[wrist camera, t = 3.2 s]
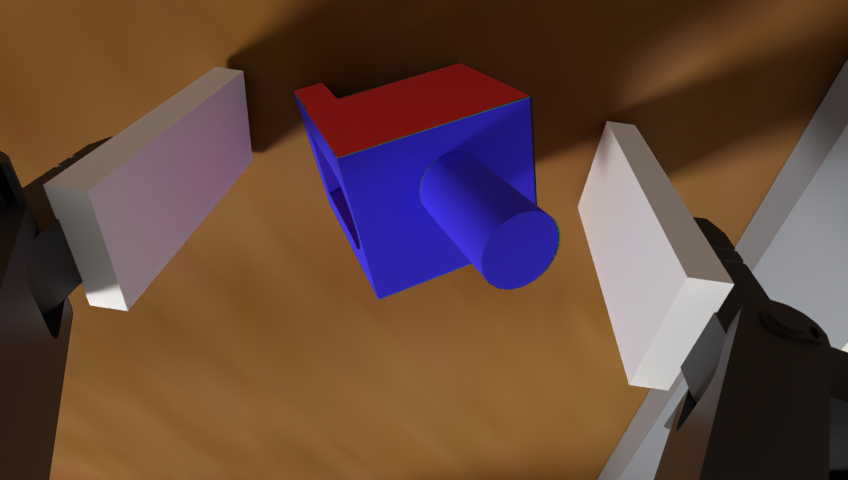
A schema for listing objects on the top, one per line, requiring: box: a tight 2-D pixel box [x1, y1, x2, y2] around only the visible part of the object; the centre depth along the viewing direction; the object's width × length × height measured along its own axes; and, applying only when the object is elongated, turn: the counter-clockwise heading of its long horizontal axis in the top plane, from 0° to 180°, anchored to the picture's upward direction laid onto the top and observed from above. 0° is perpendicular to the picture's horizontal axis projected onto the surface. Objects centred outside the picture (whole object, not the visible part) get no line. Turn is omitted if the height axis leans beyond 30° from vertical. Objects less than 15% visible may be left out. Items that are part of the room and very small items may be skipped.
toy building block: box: [294, 63, 560, 300], centre depth 12 cm, size 4×4×8 cm
